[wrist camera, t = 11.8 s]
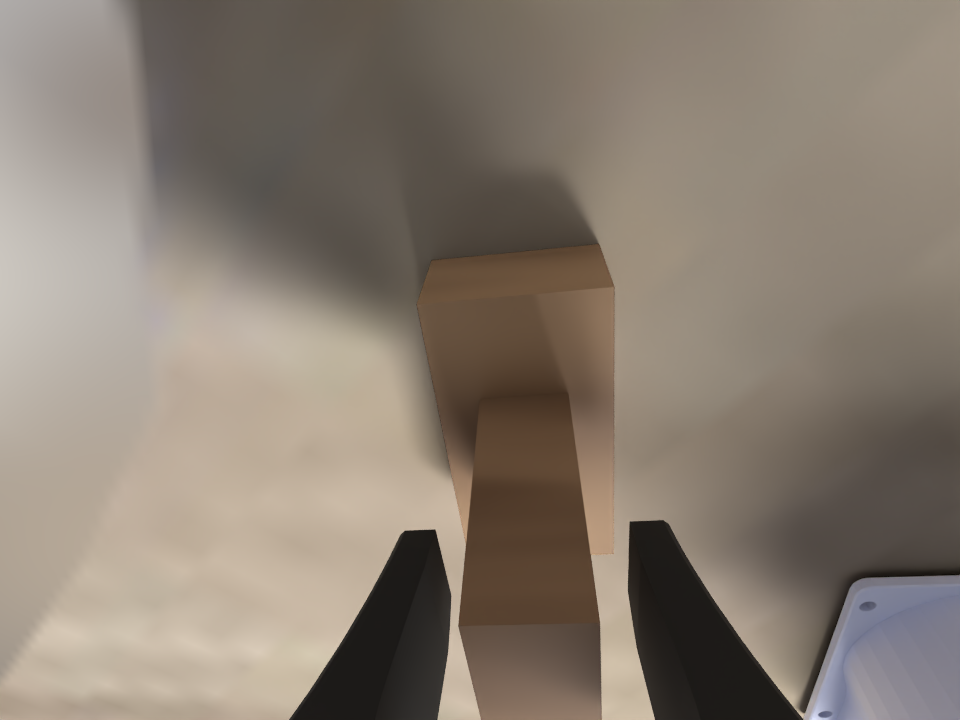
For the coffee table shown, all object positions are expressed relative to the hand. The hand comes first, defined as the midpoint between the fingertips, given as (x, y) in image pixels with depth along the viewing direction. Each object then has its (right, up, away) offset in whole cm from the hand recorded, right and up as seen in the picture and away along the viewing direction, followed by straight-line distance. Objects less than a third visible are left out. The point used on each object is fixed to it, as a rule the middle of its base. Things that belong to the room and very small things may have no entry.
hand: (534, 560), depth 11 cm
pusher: (0, +3, +5) cm, 6 cm away
